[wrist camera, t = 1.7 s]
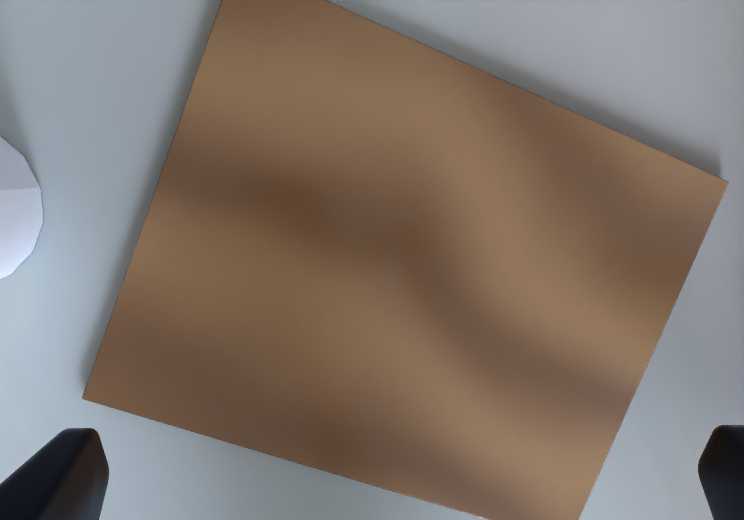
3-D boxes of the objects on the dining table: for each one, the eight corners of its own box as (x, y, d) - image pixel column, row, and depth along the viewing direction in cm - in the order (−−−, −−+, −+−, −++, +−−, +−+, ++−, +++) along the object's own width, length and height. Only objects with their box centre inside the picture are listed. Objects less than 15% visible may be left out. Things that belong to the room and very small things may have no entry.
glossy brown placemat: (564, 538, 25) (568, 543, 25) (85, 394, 22) (81, 399, 21) (722, 181, 24) (729, 181, 24) (236, -37, 20) (235, -41, 20)
